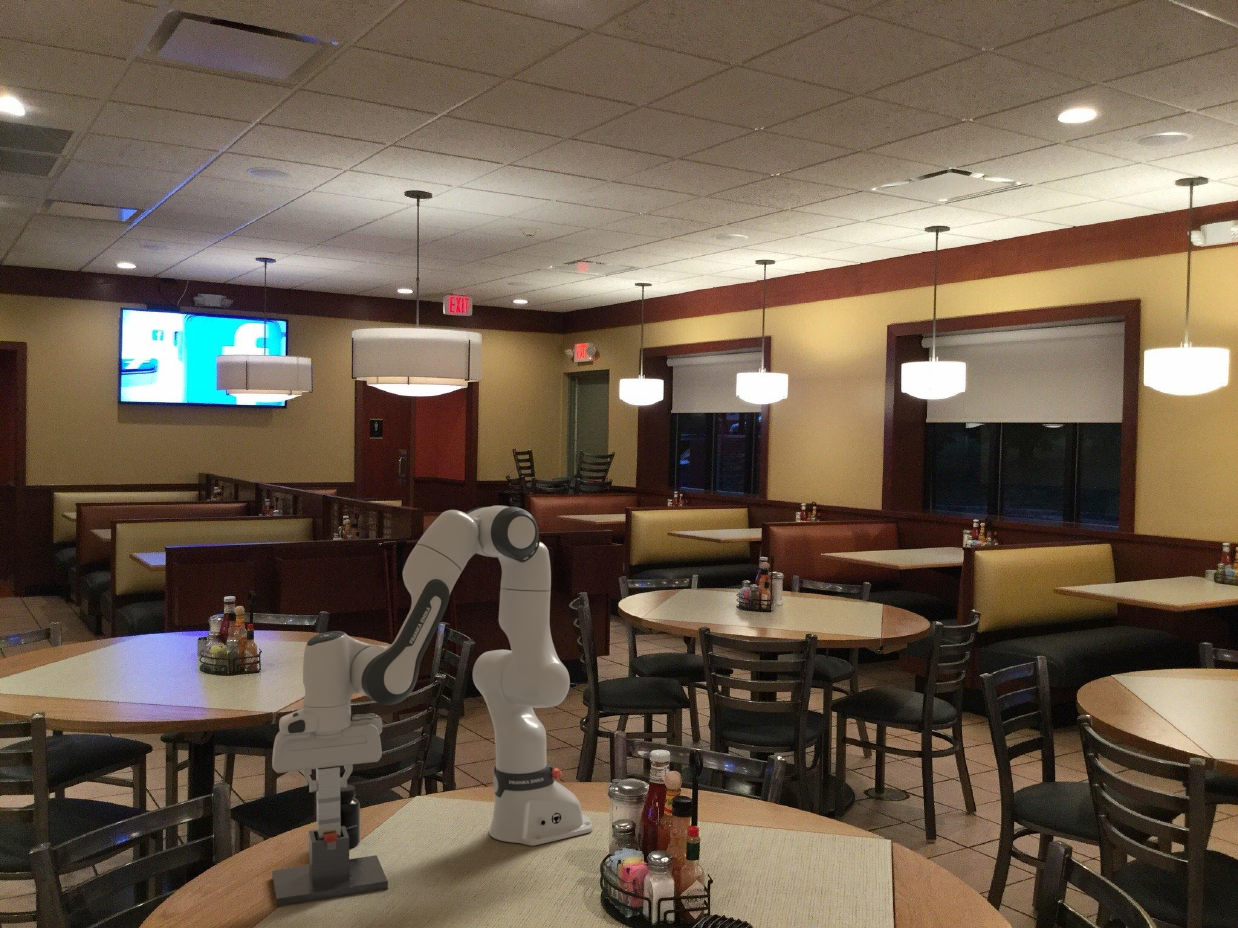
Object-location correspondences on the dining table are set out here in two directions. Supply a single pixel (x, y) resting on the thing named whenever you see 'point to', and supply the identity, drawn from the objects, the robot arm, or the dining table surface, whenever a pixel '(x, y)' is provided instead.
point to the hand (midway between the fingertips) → (328, 789)
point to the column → (328, 801)
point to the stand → (328, 873)
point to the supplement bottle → (350, 814)
